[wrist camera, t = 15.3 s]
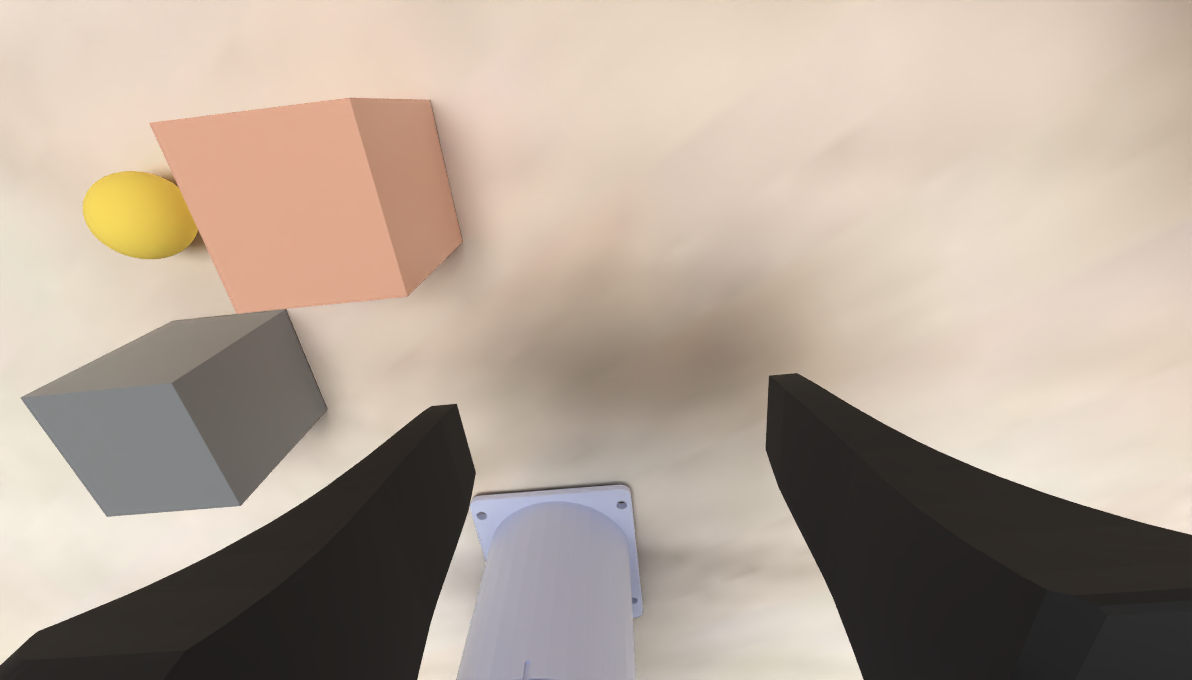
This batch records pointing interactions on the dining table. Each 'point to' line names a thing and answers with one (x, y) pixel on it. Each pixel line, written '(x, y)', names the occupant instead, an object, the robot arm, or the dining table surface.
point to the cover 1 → (316, 199)
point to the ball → (139, 215)
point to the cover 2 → (183, 413)
